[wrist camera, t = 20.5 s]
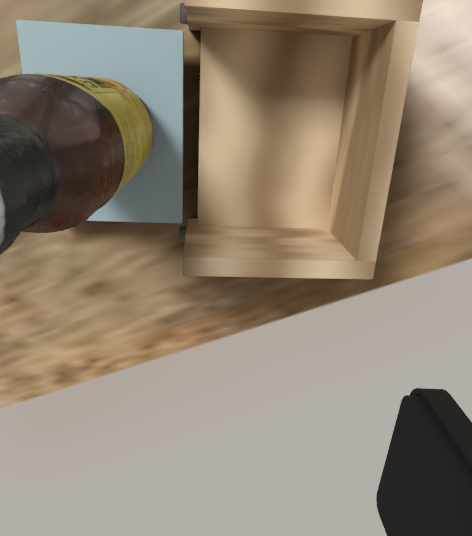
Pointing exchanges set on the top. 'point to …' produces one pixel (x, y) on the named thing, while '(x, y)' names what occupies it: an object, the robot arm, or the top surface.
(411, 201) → the top surface
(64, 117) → the sauce bottle
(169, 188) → the door
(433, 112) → the top surface
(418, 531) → the robot arm
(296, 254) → the cabinet
